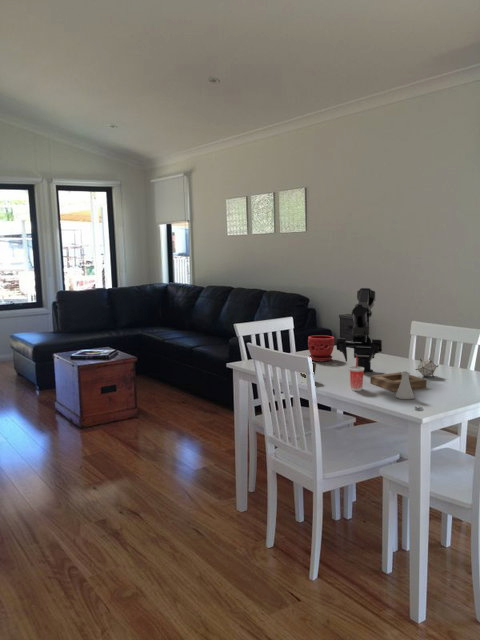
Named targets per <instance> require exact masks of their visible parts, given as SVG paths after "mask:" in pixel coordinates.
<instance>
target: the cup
mask: <svg viewBox="0 0 480 640" xmlns="http://www.w3.org/2000/svg"><path fill="white" fill-rule="evenodd" d="M312 364H313V372H314V376H315V374H316V367H317V363H316V362H312ZM299 374H300V376H301V377H302V378H303V377H304V378H306V375H305V374H302V373H300V372H299Z"/></svg>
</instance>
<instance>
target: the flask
mask: <svg viewBox="0 0 480 640" xmlns="http://www.w3.org/2000/svg"><path fill="white" fill-rule="evenodd" d="M400 372H401V373H402V379H401V383H400V386H399V388H398V391H397V392H395V398H397V399H398V400H414V399H415V395H414V392H413V390H412V389H411V386H410V382H409V375H411V373H410V371H407V370H406V371H400Z"/></svg>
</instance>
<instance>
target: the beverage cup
mask: <svg viewBox="0 0 480 640" xmlns="http://www.w3.org/2000/svg"><path fill="white" fill-rule="evenodd" d="M348 370H349V380H350V384H349V385H350V390H351V391H354V392H361V391H362V390H363V386H364V385H363V383H364V373H365V372H364V368H363V367H358V366H357V356H356V358H355V365H354V366H349V367H348Z"/></svg>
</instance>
